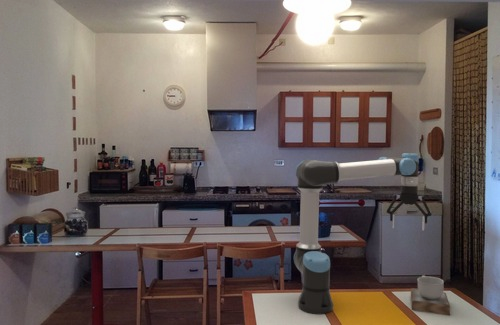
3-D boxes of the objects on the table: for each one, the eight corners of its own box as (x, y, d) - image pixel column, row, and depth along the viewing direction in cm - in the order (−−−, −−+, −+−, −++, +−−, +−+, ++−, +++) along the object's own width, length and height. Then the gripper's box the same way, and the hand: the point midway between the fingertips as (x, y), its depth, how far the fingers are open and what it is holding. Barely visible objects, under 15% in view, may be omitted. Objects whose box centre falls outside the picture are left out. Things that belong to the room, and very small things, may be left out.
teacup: (446, 302, 177) (446, 284, 177) (419, 300, 179) (420, 282, 179) (437, 291, 191) (438, 274, 191) (413, 289, 193) (413, 273, 193)
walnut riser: (411, 309, 180) (412, 300, 180) (410, 296, 196) (410, 287, 196) (449, 315, 175) (450, 305, 175) (445, 301, 191) (445, 292, 191)
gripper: (382, 184, 199) (380, 228, 200) (438, 187, 190) (436, 232, 191) (382, 183, 206) (381, 225, 207) (436, 185, 198) (435, 229, 198)
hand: (408, 228), depth 199 cm, fingers open, 13 cm apart
